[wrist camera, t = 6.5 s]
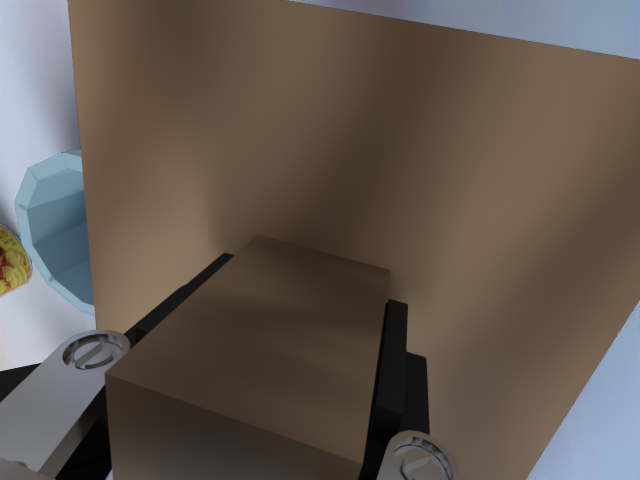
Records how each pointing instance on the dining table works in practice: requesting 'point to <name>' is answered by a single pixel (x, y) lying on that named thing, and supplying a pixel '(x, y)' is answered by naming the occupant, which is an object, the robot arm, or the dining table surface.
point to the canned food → (12, 262)
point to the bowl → (58, 226)
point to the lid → (347, 229)
